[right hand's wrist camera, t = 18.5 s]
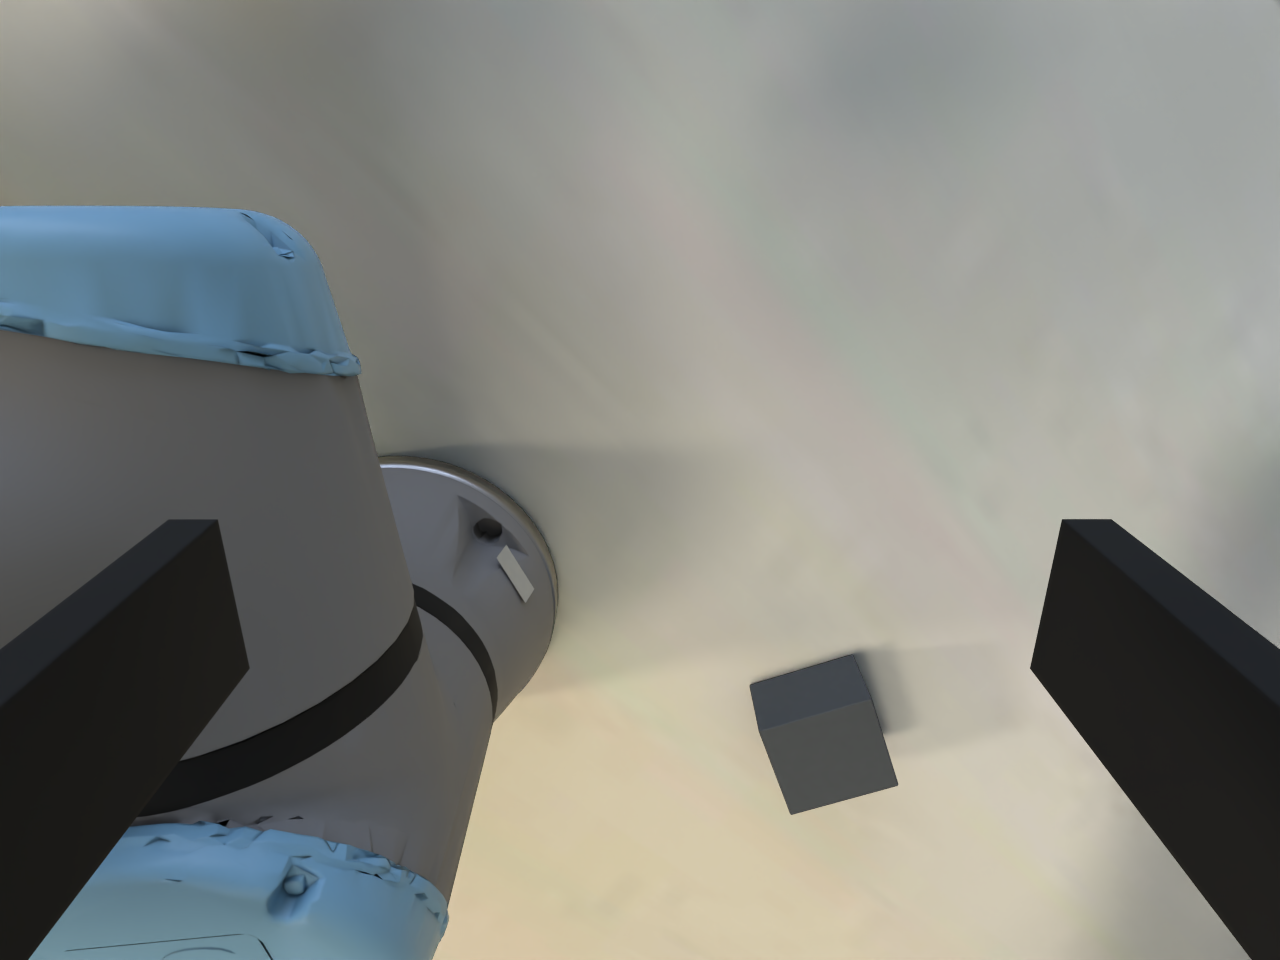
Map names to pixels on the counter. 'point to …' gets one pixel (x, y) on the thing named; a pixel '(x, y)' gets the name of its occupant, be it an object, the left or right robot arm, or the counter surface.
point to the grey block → (822, 735)
